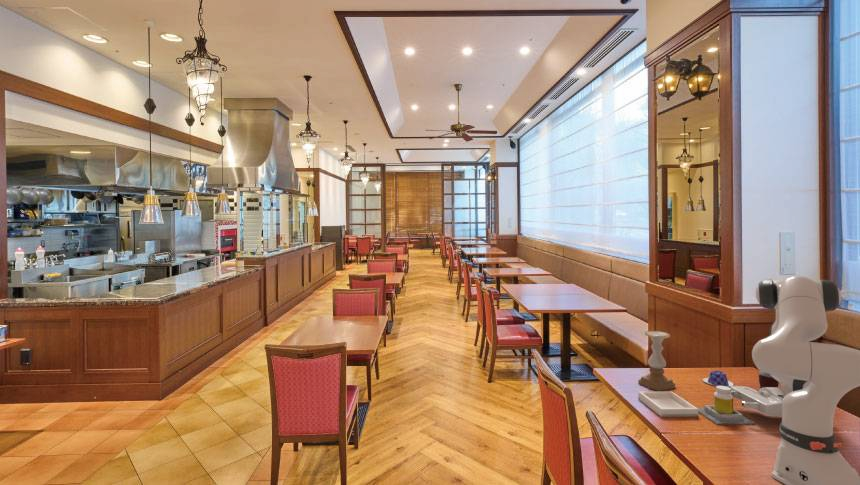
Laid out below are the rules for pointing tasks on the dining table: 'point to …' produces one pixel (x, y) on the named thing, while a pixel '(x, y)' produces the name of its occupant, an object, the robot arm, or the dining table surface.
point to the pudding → (718, 379)
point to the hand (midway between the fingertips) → (734, 399)
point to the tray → (668, 404)
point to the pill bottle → (723, 400)
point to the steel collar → (724, 417)
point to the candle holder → (657, 365)
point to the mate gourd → (767, 380)
